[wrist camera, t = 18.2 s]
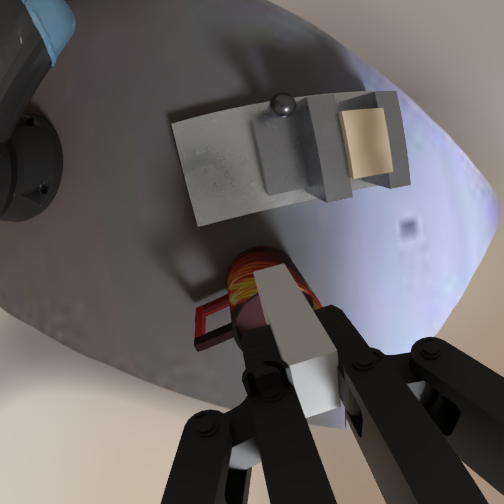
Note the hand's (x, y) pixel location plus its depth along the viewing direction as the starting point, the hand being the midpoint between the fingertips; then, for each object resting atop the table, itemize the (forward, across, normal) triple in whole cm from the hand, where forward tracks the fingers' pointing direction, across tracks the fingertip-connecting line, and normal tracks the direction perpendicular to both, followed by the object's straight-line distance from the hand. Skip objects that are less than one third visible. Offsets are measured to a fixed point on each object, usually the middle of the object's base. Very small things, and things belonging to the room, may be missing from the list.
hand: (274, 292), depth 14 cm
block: (+23, +14, +5) cm, 28 cm away
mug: (+25, -1, -13) cm, 28 cm away
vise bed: (+25, +8, +5) cm, 26 cm away
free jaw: (+23, +8, +5) cm, 25 cm away
